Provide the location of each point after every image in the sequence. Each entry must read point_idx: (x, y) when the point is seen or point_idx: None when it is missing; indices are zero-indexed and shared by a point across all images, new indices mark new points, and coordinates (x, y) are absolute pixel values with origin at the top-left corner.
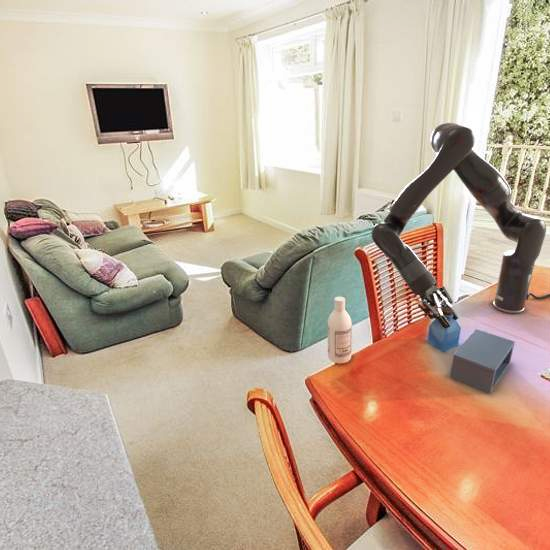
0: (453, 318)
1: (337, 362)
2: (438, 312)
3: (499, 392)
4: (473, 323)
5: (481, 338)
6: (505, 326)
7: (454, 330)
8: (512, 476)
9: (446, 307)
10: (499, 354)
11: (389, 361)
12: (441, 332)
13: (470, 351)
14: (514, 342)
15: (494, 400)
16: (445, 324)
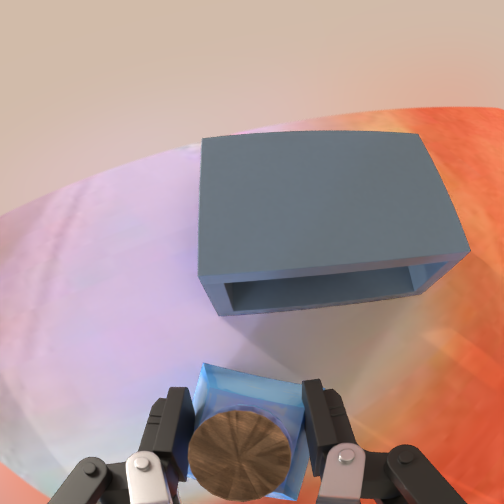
0: (190, 413)
1: None
2: (361, 476)
3: None
4: (41, 377)
5: (273, 221)
6: (19, 287)
7: (255, 376)
8: (488, 131)
9: (201, 479)
10: (333, 141)
11: (482, 461)
12: None
13: (407, 213)
14: (206, 138)
15: None
16: (340, 401)
